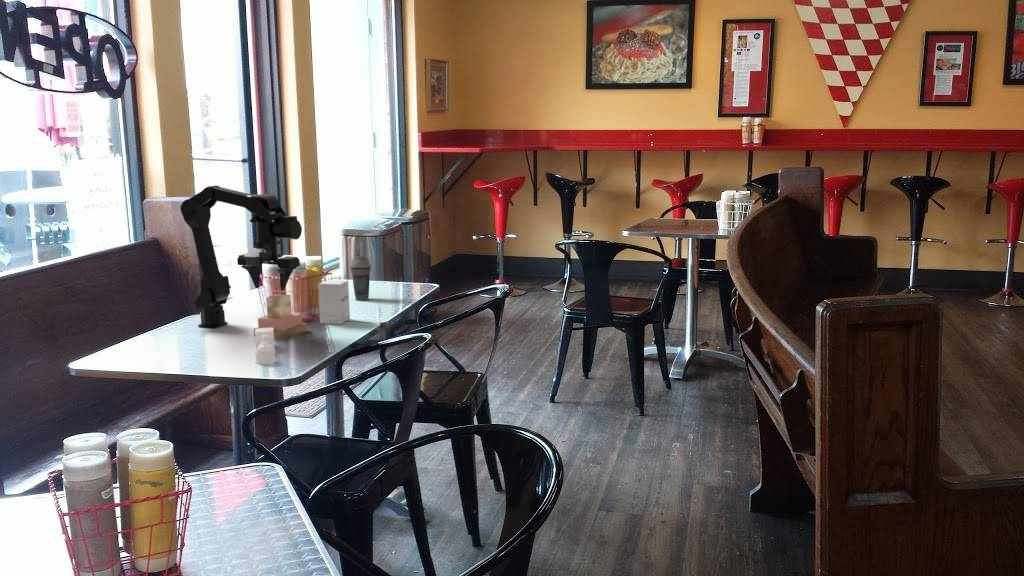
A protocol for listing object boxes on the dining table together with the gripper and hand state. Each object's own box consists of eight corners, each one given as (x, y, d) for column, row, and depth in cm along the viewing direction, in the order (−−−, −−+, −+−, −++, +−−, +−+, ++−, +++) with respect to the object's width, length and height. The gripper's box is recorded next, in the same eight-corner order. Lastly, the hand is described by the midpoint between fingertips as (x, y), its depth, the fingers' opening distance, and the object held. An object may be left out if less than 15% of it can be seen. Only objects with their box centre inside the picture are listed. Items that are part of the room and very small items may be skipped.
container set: (255, 347, 250) (254, 328, 249) (275, 345, 252) (273, 326, 251) (255, 366, 232) (254, 345, 231) (276, 364, 233) (275, 343, 232)
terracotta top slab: (258, 328, 261) (257, 318, 261) (276, 321, 269) (275, 311, 269) (284, 330, 258) (284, 320, 258) (302, 323, 266) (301, 313, 266)
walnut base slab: (254, 338, 261) (253, 328, 261) (277, 330, 272) (276, 320, 271) (286, 341, 258) (285, 331, 257) (307, 332, 268) (307, 323, 267)
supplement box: (341, 324, 275) (339, 284, 273) (319, 323, 276) (317, 283, 274) (350, 319, 282) (348, 279, 280) (328, 318, 284) (326, 279, 281)
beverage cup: (362, 296, 317) (359, 240, 313) (377, 298, 313) (374, 242, 309) (347, 300, 311) (344, 243, 307) (362, 302, 307) (359, 244, 303)
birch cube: (267, 317, 262) (266, 297, 260) (277, 313, 266) (276, 294, 265) (282, 318, 260) (280, 298, 259) (291, 314, 265) (290, 295, 263)
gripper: (223, 239, 260) (226, 291, 263) (276, 243, 253) (279, 297, 256) (248, 234, 270) (250, 285, 273) (299, 238, 263) (302, 289, 266)
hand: (269, 289), depth 267 cm, fingers open, 9 cm apart
